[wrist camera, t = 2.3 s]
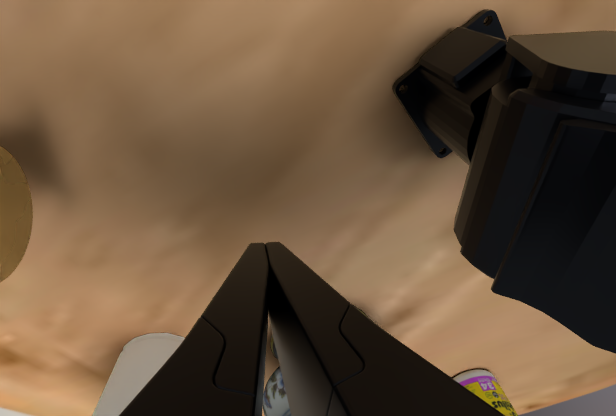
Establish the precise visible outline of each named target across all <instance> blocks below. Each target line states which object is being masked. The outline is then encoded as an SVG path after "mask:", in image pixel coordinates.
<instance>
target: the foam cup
mask: <svg viewBox="0 0 616 416" xmlns="http://www.w3.org/2000/svg"><path fill="white" fill-rule="evenodd" d="M184 339H185V338H184V337H181V336H177V335H173V334H170V333H149V334H146V335H142V336H139V337H136V338H134V339H132V340H131V341H130V342H128V343H127V344H126V345H125V346H124V347H123V351H122V352H121V353H120V355H119V357H118V360H117V362H116V364H115V366H114V368H113V371H112V373H111V375H110V377H109V379H108V382H107V384H106V386H105V388H104V390H103V393H102V395H101V397H100V399H99V402H98V404H97V406H96V408H95V410H94V413H93V415H92V416H119V415H120V414H121V412H122V411H123V410H124V409H125V408H126V407H127V406H128V404H129V403H130V402H131V401H132V400H133V399H134V398H135V396H136V395H137V394H138V393H139V392H140V391H141V390H142V389H143V387H144V386H145V385H146V384H147V383H148V382H149V381H150V379H151V378H152V377H153V376H154V375H155V374H156V373H157V372H158V370H159V369H160V368H161V367H162V366H163V365H164V364H165V362H166V361H167V360H168V359H169V358H170V356H171V355H172V354H173V353H174V352H175V350H176V349H177V348H178V347H179V346H180V344H181V343H182V342H183V340H184Z"/></svg>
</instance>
